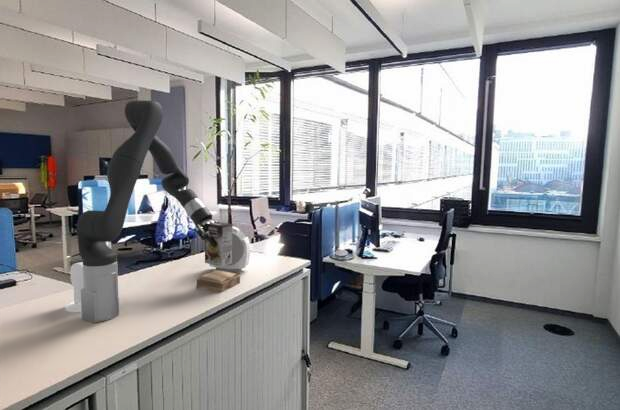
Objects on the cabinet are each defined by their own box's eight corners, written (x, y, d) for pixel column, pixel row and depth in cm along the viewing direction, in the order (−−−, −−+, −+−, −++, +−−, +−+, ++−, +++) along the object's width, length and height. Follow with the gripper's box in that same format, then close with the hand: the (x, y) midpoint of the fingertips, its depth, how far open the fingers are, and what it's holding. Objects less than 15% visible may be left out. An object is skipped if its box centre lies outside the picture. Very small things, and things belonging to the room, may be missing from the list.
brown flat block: (221, 292, 135) (221, 281, 135) (196, 287, 140) (196, 277, 140) (239, 282, 146) (239, 273, 146) (216, 278, 151) (216, 269, 151)
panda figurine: (113, 304, 121) (111, 261, 120) (77, 315, 112) (75, 269, 110) (93, 296, 127) (91, 255, 126) (58, 307, 118) (55, 262, 116)
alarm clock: (250, 268, 166) (251, 226, 164) (245, 274, 158) (246, 229, 156) (213, 266, 168) (213, 224, 166) (206, 272, 160) (206, 227, 157)
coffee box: (204, 263, 142) (203, 223, 140) (215, 259, 147) (215, 220, 145) (221, 267, 137) (221, 225, 135) (232, 263, 143) (232, 223, 141)
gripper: (190, 208, 136) (215, 242, 133) (214, 204, 149) (238, 235, 146) (180, 220, 139) (204, 254, 136) (204, 215, 152) (227, 246, 149)
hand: (221, 244), depth 141 cm, fingers closed on coffee box, 6 cm apart
